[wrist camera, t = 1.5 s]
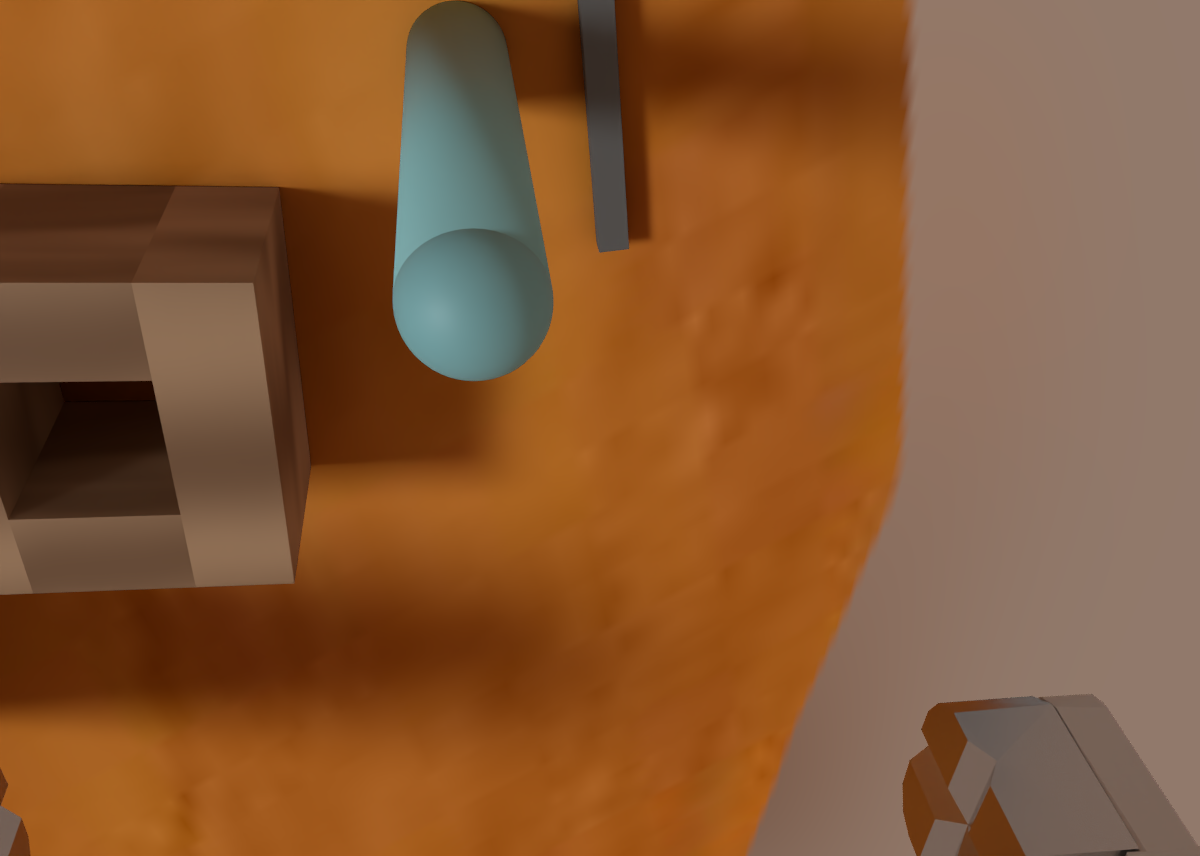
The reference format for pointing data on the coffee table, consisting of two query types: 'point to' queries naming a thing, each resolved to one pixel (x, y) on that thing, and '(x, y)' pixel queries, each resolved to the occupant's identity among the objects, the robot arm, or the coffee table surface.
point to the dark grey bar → (604, 122)
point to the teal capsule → (466, 204)
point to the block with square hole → (181, 384)
